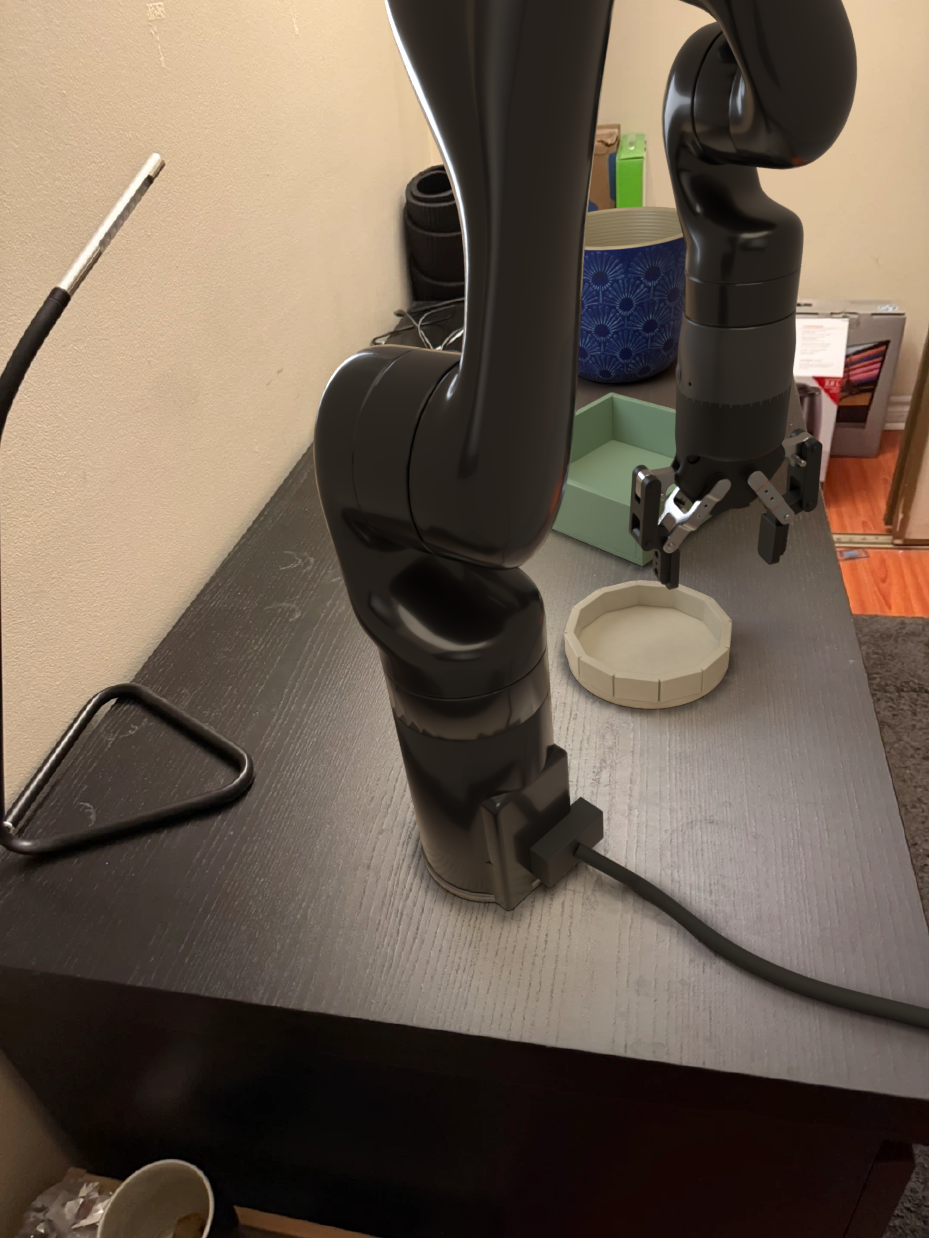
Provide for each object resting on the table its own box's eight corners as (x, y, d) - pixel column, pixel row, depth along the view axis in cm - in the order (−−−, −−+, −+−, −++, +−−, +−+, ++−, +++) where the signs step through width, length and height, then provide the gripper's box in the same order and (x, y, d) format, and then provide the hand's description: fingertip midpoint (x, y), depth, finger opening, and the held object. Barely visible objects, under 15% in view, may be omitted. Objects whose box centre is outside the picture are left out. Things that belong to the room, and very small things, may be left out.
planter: (553, 347, 130) (547, 213, 118) (692, 340, 125) (699, 200, 114) (540, 402, 114) (531, 253, 102) (698, 396, 109) (707, 240, 98)
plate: (760, 647, 69) (763, 618, 67) (663, 734, 63) (665, 704, 61) (632, 591, 77) (632, 563, 75) (535, 662, 71) (533, 634, 69)
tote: (756, 484, 90) (762, 431, 86) (642, 566, 80) (643, 511, 76) (611, 440, 102) (611, 392, 99) (497, 506, 92) (492, 455, 89)
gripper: (658, 419, 53) (654, 619, 63) (862, 373, 55) (827, 575, 65) (613, 378, 59) (616, 567, 69) (799, 338, 61) (776, 528, 71)
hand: (718, 571), depth 67 cm, fingers open, 8 cm apart
